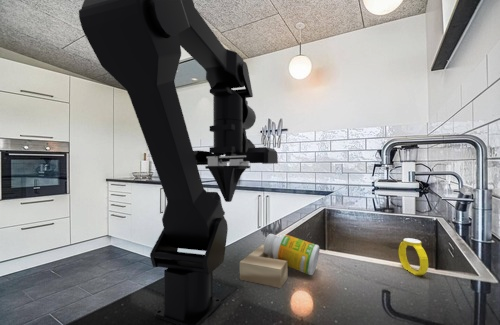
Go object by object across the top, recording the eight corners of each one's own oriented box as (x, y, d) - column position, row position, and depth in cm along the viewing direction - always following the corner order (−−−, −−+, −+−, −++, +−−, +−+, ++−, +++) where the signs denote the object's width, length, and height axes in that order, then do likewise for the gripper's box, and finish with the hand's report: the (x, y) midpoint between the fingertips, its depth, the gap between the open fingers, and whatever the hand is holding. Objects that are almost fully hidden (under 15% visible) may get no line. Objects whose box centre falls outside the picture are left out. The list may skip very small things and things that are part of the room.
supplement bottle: (314, 254, 40) (263, 236, 45) (310, 282, 41) (260, 261, 46) (321, 240, 45) (274, 225, 50) (317, 266, 46) (271, 249, 51)
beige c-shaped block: (280, 288, 39) (280, 269, 39) (239, 279, 42) (239, 262, 42) (300, 258, 51) (300, 244, 51) (268, 253, 54) (268, 240, 55)
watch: (432, 280, 42) (433, 246, 41) (417, 280, 42) (417, 247, 41) (408, 264, 48) (408, 234, 47) (394, 264, 48) (395, 235, 47)
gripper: (285, 124, 50) (286, 199, 50) (211, 131, 58) (212, 195, 58) (266, 113, 40) (267, 206, 40) (180, 123, 48) (180, 201, 48)
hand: (228, 201), depth 47 cm, fingers closed
